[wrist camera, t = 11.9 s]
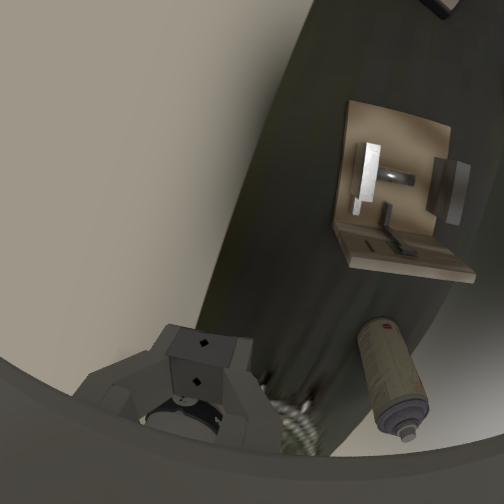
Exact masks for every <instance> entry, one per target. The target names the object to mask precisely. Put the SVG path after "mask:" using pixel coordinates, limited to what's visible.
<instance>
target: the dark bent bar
mask: <svg viewBox="0 0 504 504" xmlns="http://www.w3.org/2000/svg"><path fill="white" fill-rule="evenodd" d="M392 207H393V205H392V204H390V203H389V202H385V203H384V208H383V213H382V218H381V222H379V225H380V226H381V228H382V229H383V230H384V231H385V232H386V233H387V234H388V235H389V236H390V237H391V238H392V240H393V241H394V242H395V243H396V244H397V245H398V246H399V248H398V250H399V251H400V252H401V253H402V254H407V255H413V256H417V251H416V250H415V249H414V248H412V247H409V246H408V245H407V244H406V243H405V242H404V241H403V240H402V239H401V238H400V237H399V236H398V235H397V234H396V233H395V232H394V231H393V230H392V229H391V228H390V227H389V222H390V217H391V212H392Z"/></svg>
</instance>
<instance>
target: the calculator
mask: <svg viewBox="0 0 504 504" xmlns="http://www.w3.org/2000/svg"><path fill="white" fill-rule="evenodd" d="M419 1H420V2H422V3H423V4H424V5H425V6H426V7H428V8H429V9H430V10H431V11H432V12H434V13H435V14H436V15H437V16H438V17H439V18H440V19H442V20H444V19H445V18H447V17H449V16H451V15H452V14H453V13H454V11H455V10H456V9H457V7H458V6H459V5H460V3H461V2H462V1H463V0H419Z"/></svg>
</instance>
